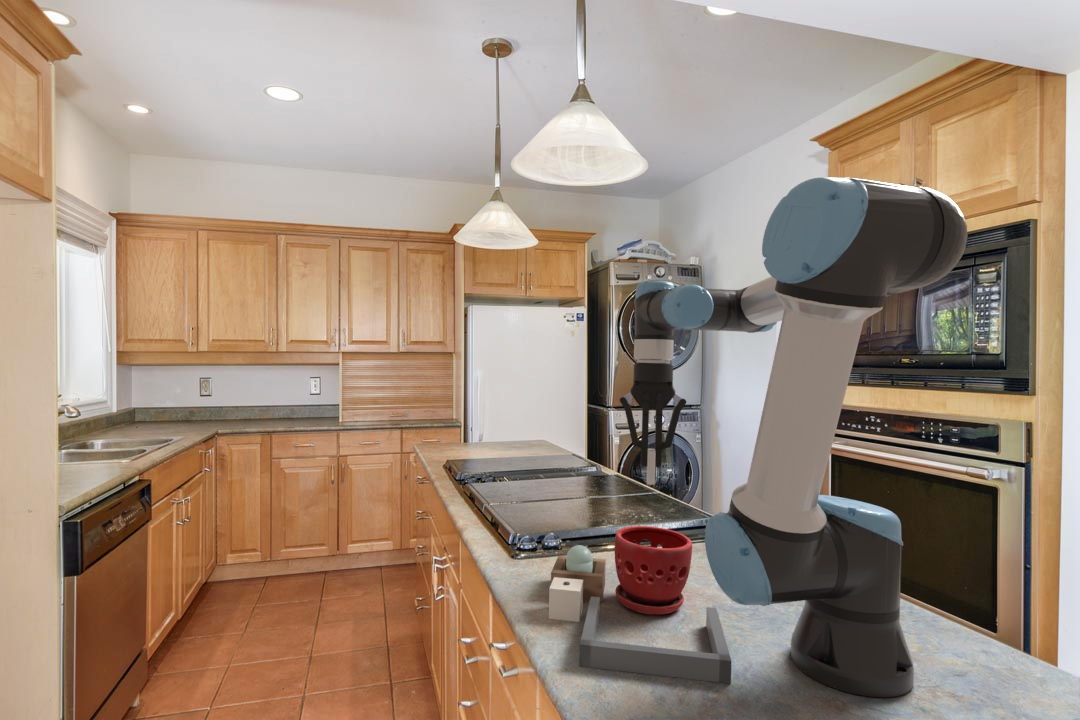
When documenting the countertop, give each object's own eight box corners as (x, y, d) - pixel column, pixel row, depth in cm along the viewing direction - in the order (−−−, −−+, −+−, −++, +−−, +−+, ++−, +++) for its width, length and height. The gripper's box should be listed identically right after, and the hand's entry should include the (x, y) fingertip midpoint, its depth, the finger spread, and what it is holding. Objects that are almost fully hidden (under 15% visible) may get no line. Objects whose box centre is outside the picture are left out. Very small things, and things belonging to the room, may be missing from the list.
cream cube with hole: (582, 609, 99) (583, 578, 99) (579, 622, 94) (580, 590, 94) (553, 606, 100) (554, 575, 99) (548, 619, 95) (549, 587, 95)
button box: (605, 583, 110) (605, 559, 110) (601, 602, 101) (602, 576, 101) (557, 578, 112) (558, 555, 111) (550, 597, 103) (551, 572, 103)
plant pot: (639, 626, 92) (640, 551, 92) (600, 594, 105) (601, 528, 105) (706, 614, 97) (708, 543, 97) (662, 585, 110) (663, 521, 109)
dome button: (593, 579, 108) (594, 542, 108) (590, 589, 103) (591, 551, 103) (567, 577, 109) (568, 540, 109) (564, 587, 104) (564, 549, 104)
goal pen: (715, 626, 93) (716, 608, 93) (730, 683, 77) (731, 661, 77) (590, 614, 96) (590, 596, 96) (579, 666, 80) (579, 644, 80)
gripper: (686, 362, 116) (683, 481, 116) (620, 361, 118) (617, 477, 118) (689, 362, 109) (686, 489, 109) (619, 361, 111) (616, 485, 111)
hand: (650, 483), depth 113 cm, fingers closed
